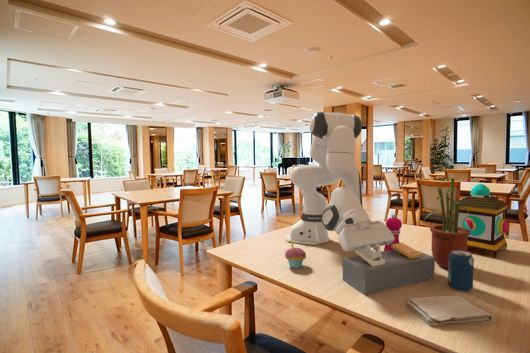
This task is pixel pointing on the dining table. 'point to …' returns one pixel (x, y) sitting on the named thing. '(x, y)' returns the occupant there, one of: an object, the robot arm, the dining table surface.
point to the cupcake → (295, 256)
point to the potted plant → (448, 229)
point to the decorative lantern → (484, 220)
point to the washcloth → (447, 311)
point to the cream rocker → (370, 258)
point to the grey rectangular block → (387, 272)
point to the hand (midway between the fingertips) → (377, 258)
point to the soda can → (460, 270)
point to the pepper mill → (393, 230)
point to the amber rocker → (406, 250)
